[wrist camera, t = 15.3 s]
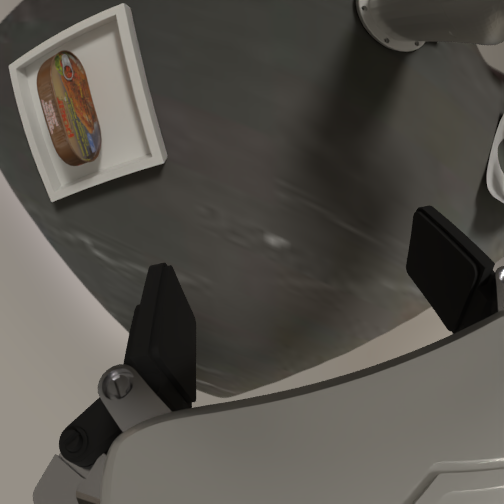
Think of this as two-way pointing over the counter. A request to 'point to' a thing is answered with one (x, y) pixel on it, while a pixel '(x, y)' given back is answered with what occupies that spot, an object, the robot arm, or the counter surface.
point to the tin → (69, 109)
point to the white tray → (104, 99)
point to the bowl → (496, 166)
